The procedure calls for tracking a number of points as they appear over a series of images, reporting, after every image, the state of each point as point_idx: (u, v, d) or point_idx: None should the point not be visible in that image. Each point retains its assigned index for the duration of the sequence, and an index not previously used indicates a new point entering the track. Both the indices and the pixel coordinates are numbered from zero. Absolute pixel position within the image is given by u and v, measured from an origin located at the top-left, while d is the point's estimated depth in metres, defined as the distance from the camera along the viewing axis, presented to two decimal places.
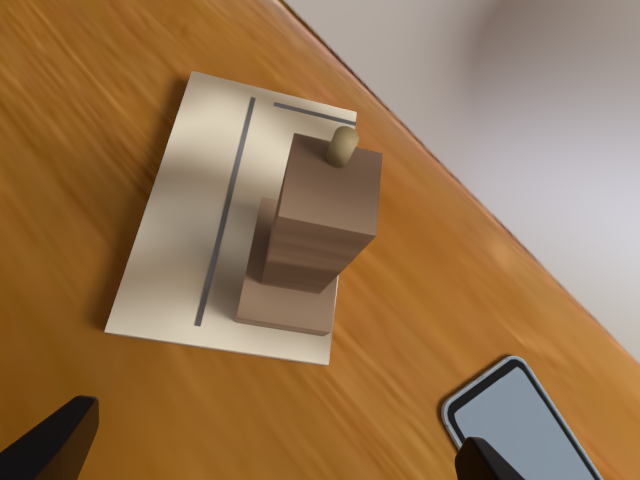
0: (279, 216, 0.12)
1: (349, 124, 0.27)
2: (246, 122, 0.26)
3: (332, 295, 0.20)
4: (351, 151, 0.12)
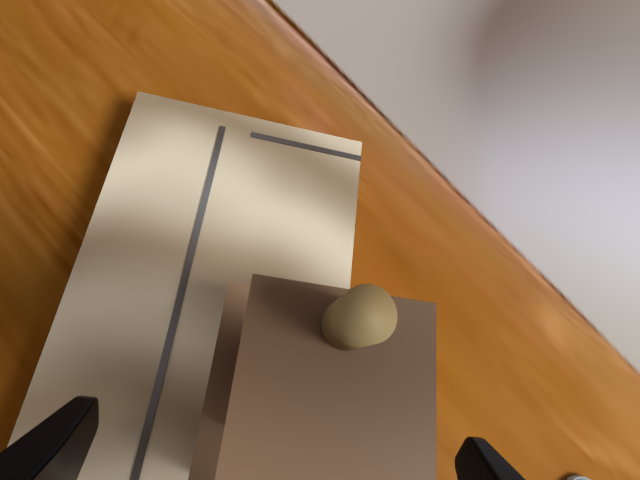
0: None
1: (352, 158, 0.20)
2: (212, 162, 0.19)
3: None
4: None
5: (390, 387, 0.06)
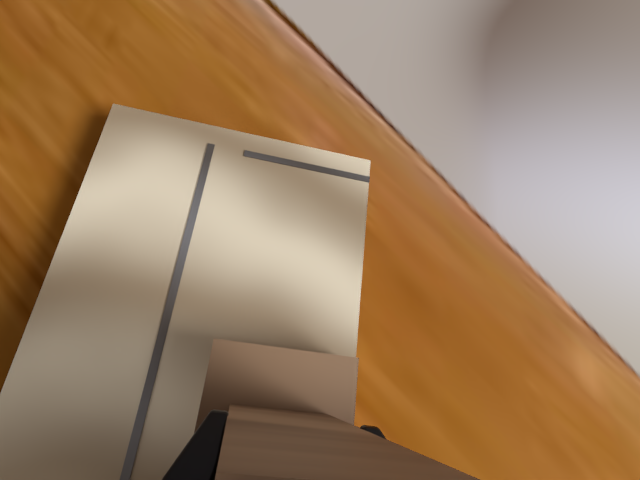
0: None
1: (360, 180, 0.18)
2: (198, 186, 0.16)
3: None
4: None
5: None
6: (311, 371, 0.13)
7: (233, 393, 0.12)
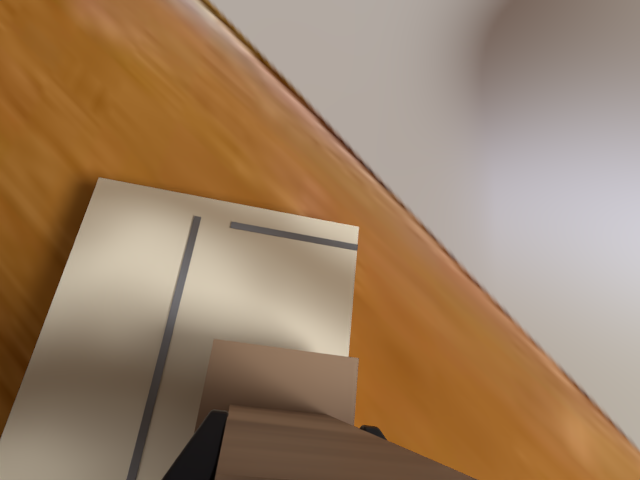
0: None
1: (348, 248, 0.18)
2: (184, 262, 0.16)
3: None
4: None
5: None
6: (311, 371, 0.13)
7: (233, 393, 0.12)
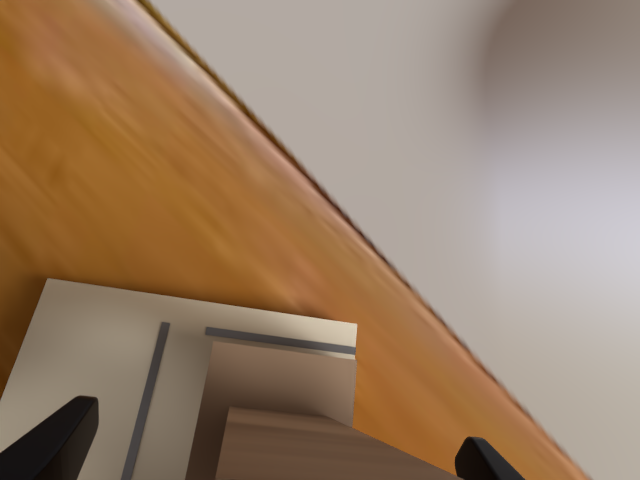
0: None
1: (344, 353, 0.15)
2: (148, 383, 0.13)
3: None
4: None
5: None
6: (310, 373, 0.13)
7: (233, 395, 0.12)
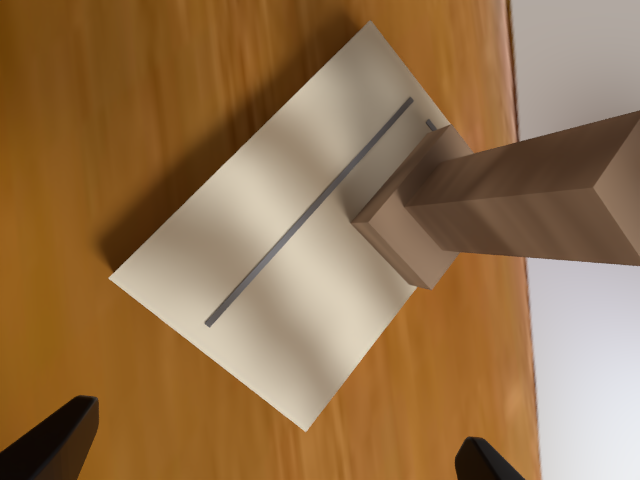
0: (592, 188, 0.10)
1: None
2: (387, 124, 0.20)
3: (451, 259, 0.20)
4: None
5: None
6: None
7: (444, 158, 0.19)
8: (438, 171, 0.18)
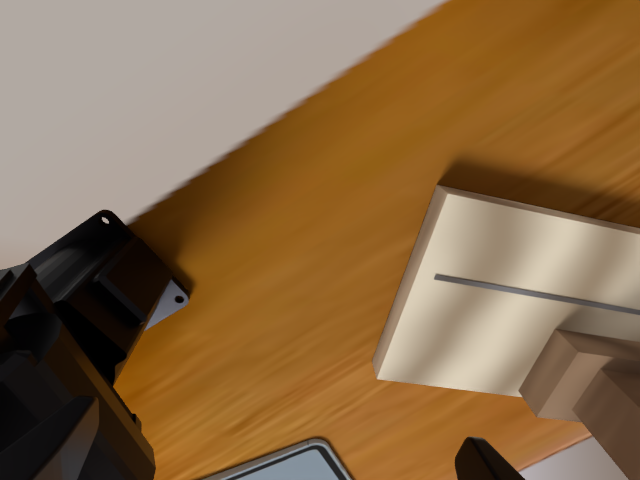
0: None
1: None
2: None
3: (566, 418, 0.22)
4: None
5: None
6: None
7: None
8: None
